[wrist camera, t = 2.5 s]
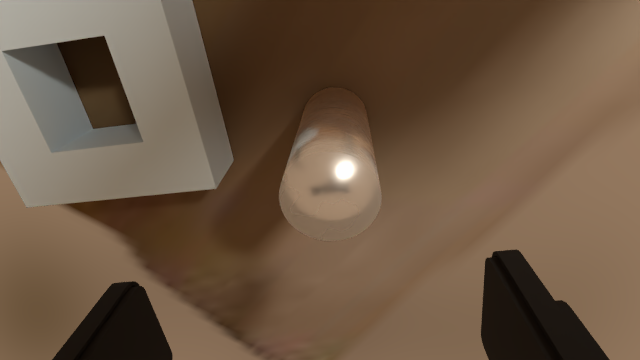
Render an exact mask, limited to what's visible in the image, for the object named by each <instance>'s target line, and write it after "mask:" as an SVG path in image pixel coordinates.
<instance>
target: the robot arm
mask: <svg viewBox="0 0 640 360" xmlns="http://www.w3.org/2000/svg"><path fill="white" fill-rule="evenodd" d="M481 338H482V343H483V346H484V349H485V351H486V354H487V356H488V358H489V360H609V358H608V357H607V356H606V354H605V353H604V352H603V350H602V349H601V348H600V346H599V345H598V344H597V342H596V341H595V340H594V338H593V337H592V336H591V335H590V333H589V332H588V330H587V329H586V328H585V326H584V325H583V323H582V322H581V321H580V319H579V318H578V317H577V315H576V314H575V313H574V311H573V310H572V309H571V308H570V306H569V305H568V304H567V303H566V302H563V301H562V300H561V301H555V300H554V299H553V297H552V296H551V295H550V293H549V292H548V290H547V289H546V288H545V286H544V285H543V283H542V282H541V281H540V279H539V278H538V276H537V275H536V274H535V272H534V271H533V269H532V268H531V266H530V265H529V264H528V262H527V261H526V259H525V258H524V257H523V255H522V254H521V252H519V250H506V251H495V252H493V255H492V257H491V258H487V259H486V261H485V275H484V293H483V308H482V325H481ZM52 360H172V352H171V349H170V347H169V344H168V342H167V340H166V337H165V335H164V333H163V331H162V328H161V326H160V324H159V321H158V319H157V317H156V314H155V312H154V310H153V308H152V305H151V303H150V301H149V298H148V296H147V293H146V291H145V289H144V288H143V287H142V286H139V284H138V283H136V282H121V283H114V284H112V285H111V286H110V287H109V288H108V289H107V291H106V292H105V293H104V294H103V296H102V297H101V298H100V300H99V301H98V302H97V303H96V305H95V306H94V307H93V308H92V310H91V311H90V312H89V313H88V315H87V316H86V317H85V319H84V320H83V321H82V322H81V324H80V325H79V326H78V328H77V329H76V330H75V331H74V333H73V334H72V335H71V336H70V338H69V339H68V340H67V342H66V343H65V344H64V345H63V347H62V348H61V349H60V351H59V352H58V353H57V354H56V356H55V357H54V358H53V359H52Z"/></svg>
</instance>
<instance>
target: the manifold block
mask: <svg viewBox="0 0 640 360" xmlns="http://www.w3.org/2000/svg"><path fill="white" fill-rule="evenodd" d="M98 36H105V39H106V42H107V44H108V47H109V50H110V52H111V55H112V58H113V61H114V63H115V66H116V69H117V71H118V74H119V77H120V80H121V82H122V85H123V88H124V90H125V93H126V96H127V99H128V101H129V104H130V107H131V110H132V112H133V115H134V118H135V120H136V123H137V124H130V125H122V126H113V127H105V128H97V129H93V128H92V125H91V123H90V121H89V118H88V116H87V114H86V111H85V109H84V107H83V104H82V102H81V99H80V97H79V95H78V92H77V90H76V88H75V85H74V83H73V81H72V78H71V76H70V73H69V71H68V69H67V66H66V64H65V62H64V59H63V57H62V55H61V52H60V50H59V48H58V45H57V43H59V42H65V41H72V40H79V39H85V38H92V37H98ZM0 161H1V163H2V165H3V166H4V168H5V170H6V172H7V174H8V175H9V177H10V179H11V181H12V182H13V184H14V186H15V188H16V190H17V191H18V193H19V195H20V197H21V199H22V200H23V202H24V204H25V206H26V207H27V208H28V207H38V206H48V205H58V204H68V203H78V202H88V201H98V200H108V199H118V198H128V197H138V196H148V195H158V194H168V193H178V192H189V191H199V190H209V189H216V188H217V187H218V185H219V183H220V182H221V180H222V179H223V177H224V175H225V174H226V172H227V171H228V169H229V167H230V166H231V164H232V163H233V161H234V158H233V155H232V151H231V147H230V143H229V139H228V135H227V132H226V128H225V124H224V120H223V116H222V112H221V109H220V105H219V101H218V97H217V93H216V89H215V86H214V82H213V78H212V74H211V70H210V66H209V63H208V59H207V55H206V51H205V47H204V43H203V40H202V36H201V32H200V28H199V24H198V20H197V17H196V13H195V9H194V5H193V1H192V0H0Z"/></svg>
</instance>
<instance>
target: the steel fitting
mask: <svg viewBox="0 0 640 360" xmlns="http://www.w3.org/2000/svg"><path fill="white" fill-rule="evenodd" d="M381 201H382V194H381V188H380V182H379V177H378V171H377V166H376V160H375V155H374V150H373V144H372V139H371V133H370V128H369V122H368V117H367V112H366V108H365V106H364V104H363V102H362V100H361V99H360V98H359V97H358V96H357V95H356V94H355V93H353V92H352V91H350V90H347V89H345V88H340V87H330V88H326V89H323V90H320V91H318V92H317V93H315V94H314V95H313V96H312V97H311V98H310V99H309V101H308V102H307V104H306V106H305V109H304V112H303V115H302V118H301V121H300V124H299V128H298V131H297V134H296V137H295V140H294V143H293V147H292V150H291V153H290V156H289V159H288V162H287V166H286V169H285V172H284V175H283V178H282V182H281V185H280V189H279V202H280V207H281V210H282V212H283V214H284V216H285V218H286V219H287V221H288V222H289V223H290V224H291V225H292V226H293V227H294V228H295V229H296V230H298V231H299V232H300V233H302V234H304V235H306V236H308V237H310V238H313V239H317V240H322V241H341V240H345V239H349V238H352V237H354V236H356V235H358V234H360V233H362V232H363V231H365V230H366V229H367V228H368V227H369V226H370V225H371V224H372V223H373V221H374V220H375V218H376V217H377V215H378V213H379V210H380V207H381Z"/></svg>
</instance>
